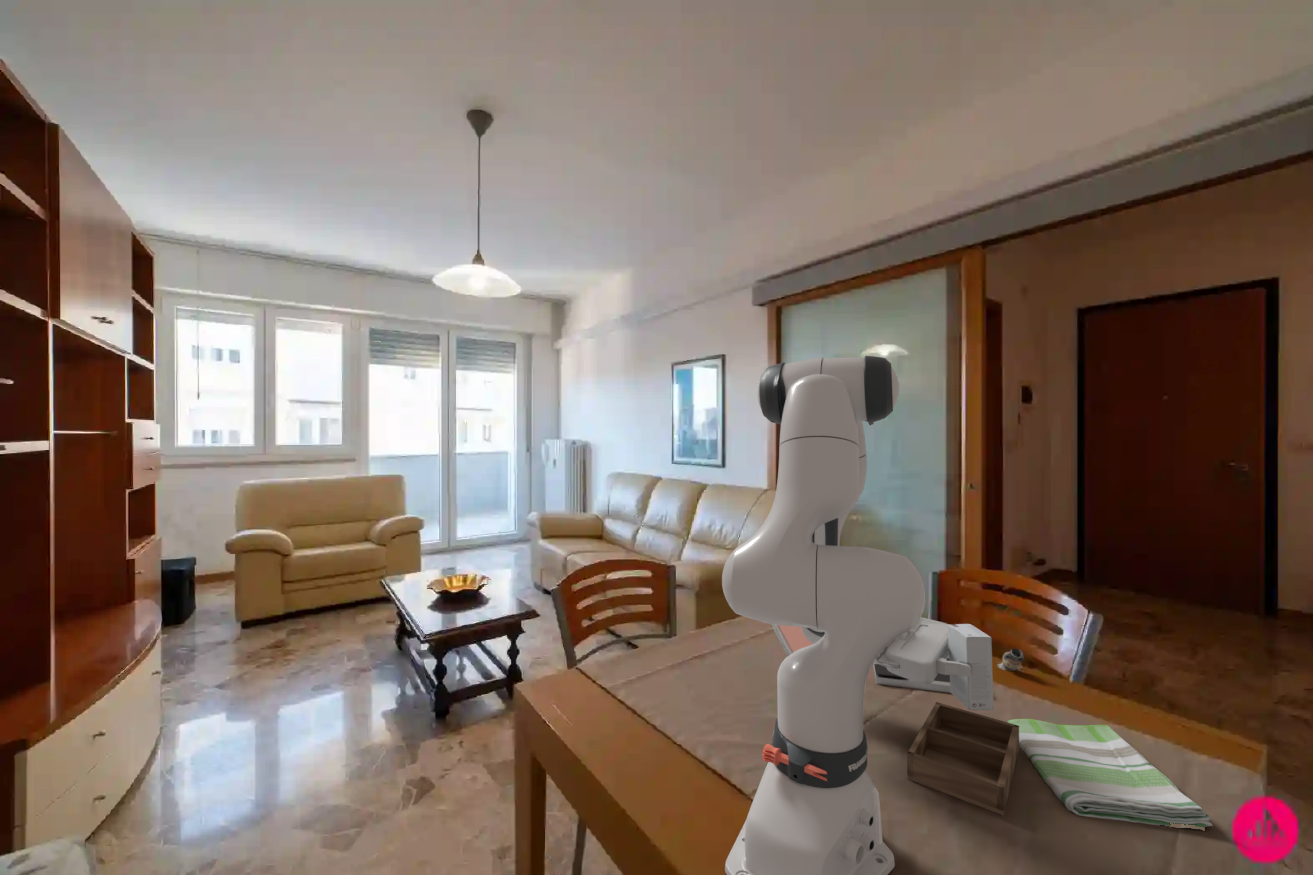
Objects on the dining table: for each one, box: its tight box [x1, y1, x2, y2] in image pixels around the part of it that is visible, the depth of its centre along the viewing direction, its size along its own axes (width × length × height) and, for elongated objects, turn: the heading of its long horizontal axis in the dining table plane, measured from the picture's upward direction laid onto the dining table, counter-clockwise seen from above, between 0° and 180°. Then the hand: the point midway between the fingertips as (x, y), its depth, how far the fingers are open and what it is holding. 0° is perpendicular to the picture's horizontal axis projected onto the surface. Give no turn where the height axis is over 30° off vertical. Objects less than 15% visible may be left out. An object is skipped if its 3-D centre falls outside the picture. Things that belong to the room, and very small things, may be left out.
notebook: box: [770, 624, 813, 657], centre depth 136 cm, size 27×17×2 cm, turn 178°
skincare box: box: [948, 623, 995, 711], centre depth 89 cm, size 6×4×12 cm
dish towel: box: [1006, 718, 1213, 828], centre depth 84 cm, size 17×23×4 cm
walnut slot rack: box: [906, 701, 1020, 816], centre depth 86 cm, size 19×13×4 cm, turn 140°
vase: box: [996, 648, 1025, 673], centre depth 116 cm, size 5×5×6 cm
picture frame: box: [872, 656, 952, 694], centre depth 117 cm, size 16×3×21 cm
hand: (976, 661), depth 89 cm, fingers closed on skincare box, 7 cm apart
